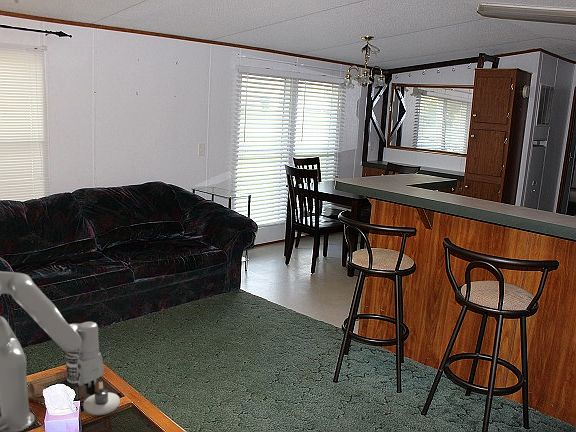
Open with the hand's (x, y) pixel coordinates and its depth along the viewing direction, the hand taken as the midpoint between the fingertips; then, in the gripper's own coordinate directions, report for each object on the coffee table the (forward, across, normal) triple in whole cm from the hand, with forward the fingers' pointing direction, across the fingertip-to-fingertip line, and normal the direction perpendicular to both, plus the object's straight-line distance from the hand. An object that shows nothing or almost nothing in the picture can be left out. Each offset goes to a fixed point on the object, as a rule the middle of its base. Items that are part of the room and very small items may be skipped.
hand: (90, 393), depth 223 cm
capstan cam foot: (+2, +3, -3) cm, 5 cm away
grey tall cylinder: (+4, +8, +20) cm, 22 cm away
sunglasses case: (+5, -10, +19) cm, 22 cm away
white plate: (+4, +1, -5) cm, 7 cm away
